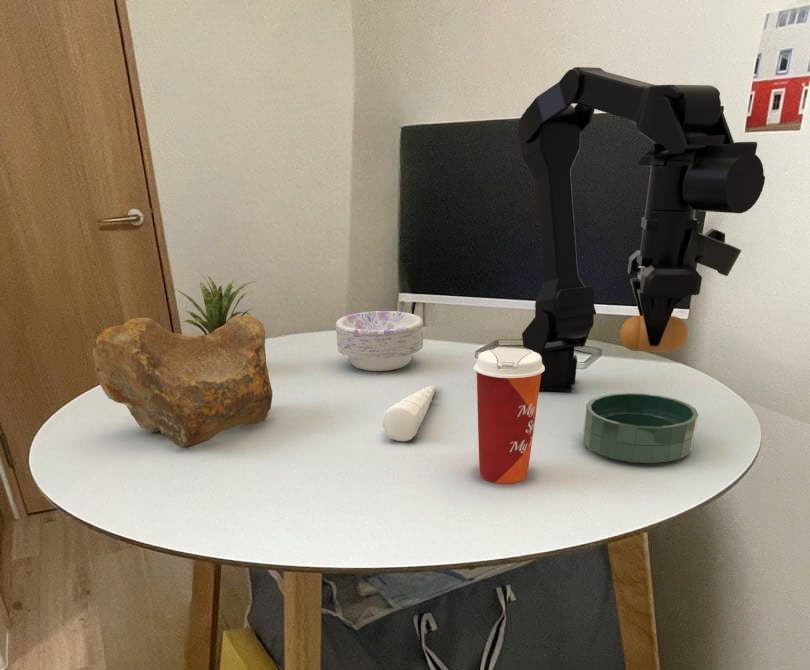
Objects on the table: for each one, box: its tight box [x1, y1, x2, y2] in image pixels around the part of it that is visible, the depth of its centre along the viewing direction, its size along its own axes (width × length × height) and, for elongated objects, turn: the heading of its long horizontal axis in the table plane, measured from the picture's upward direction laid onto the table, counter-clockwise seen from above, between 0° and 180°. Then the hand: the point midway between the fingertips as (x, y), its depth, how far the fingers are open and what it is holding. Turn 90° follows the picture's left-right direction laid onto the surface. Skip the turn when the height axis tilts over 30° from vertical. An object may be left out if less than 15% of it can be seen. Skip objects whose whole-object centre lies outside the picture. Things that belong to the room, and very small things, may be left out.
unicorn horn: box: [382, 384, 437, 443], centre depth 101 cm, size 5×24×5 cm, turn 163°
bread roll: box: [619, 315, 689, 353], centre depth 91 cm, size 8×4×4 cm, turn 80°
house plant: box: [173, 275, 258, 335], centre depth 119 cm, size 14×14×16 cm
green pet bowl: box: [582, 392, 699, 464], centre depth 88 cm, size 13×13×5 cm
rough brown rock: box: [92, 315, 274, 449], centre depth 94 cm, size 23×17×15 cm
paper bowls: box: [335, 310, 424, 372], centre depth 124 cm, size 15×15×8 cm
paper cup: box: [473, 347, 545, 485], centre depth 80 cm, size 8×8×14 cm
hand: (651, 341), depth 91 cm, fingers closed on bread roll, 4 cm apart
